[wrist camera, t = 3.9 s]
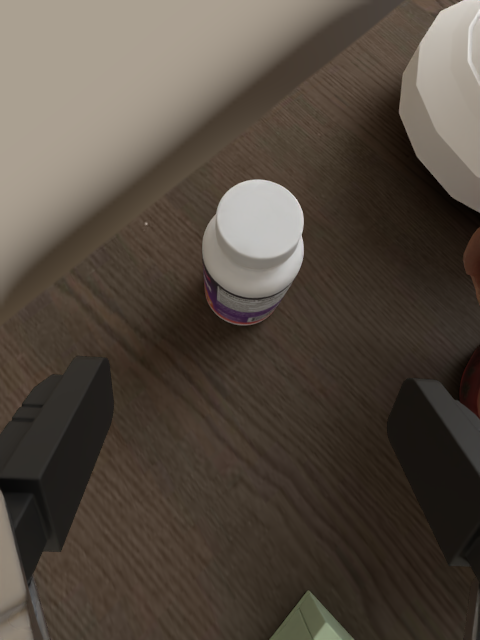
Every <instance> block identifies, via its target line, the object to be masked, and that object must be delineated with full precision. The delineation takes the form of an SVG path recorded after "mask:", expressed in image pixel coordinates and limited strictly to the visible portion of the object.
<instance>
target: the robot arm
mask: <svg viewBox="0 0 480 640" xmlns="http://www.w3.org/2000/svg"><path fill="white" fill-rule="evenodd" d="M113 410H114V400H113V391H112V382H111V373H110V364H109V360H108V359H107V358H102V357H87V356H76V357H75V358H74V359H73V360H72V362H71V363H70V365H69V367H68V368H67V370H66V371H65V373H64V374H63V375H55V374H52V375H51V376H49V377H48V378H47V379H45V380H44V381H42V382H41V383H40V384H38V385H37V386H35V387H34V388H33V390H32V391H31V392H30V394H29V395H28V396H27V398H26V399H25V401H24V402H23V403H22V407H20V408H19V409H18V410H17V412H16V413H15V414H14V416H13V417H12V421H9V423H8V424H7V425H6V427H5V428H4V430H3V431H2V432H1V434H0V640H51V638H50V635H49V631H48V627H47V623H46V619H45V616H44V612H43V608H42V604H41V601H40V597H39V593H38V589H37V585H36V582H35V578H34V574H33V573H34V570H35V568H36V566H37V563H38V561H39V559H40V556H41V554H42V552H43V551H49V552H61V550H62V547H63V545H64V542H65V540H66V537H67V535H68V532H69V529H70V527H71V524H72V522H73V519H74V517H75V514H76V512H77V509H78V506H79V504H80V501H81V499H82V496H83V494H84V491H85V489H86V486H87V484H88V481H89V478H90V476H91V473H92V471H93V468H94V466H95V463H96V461H97V458H98V455H99V453H100V450H101V448H102V445H103V443H104V440H105V438H106V435H107V433H108V430H109V427H110V425H111V421H112V417H113ZM387 433H388V438H389V441H390V443H391V445H392V447H393V449H394V452H395V454H396V456H397V458H398V460H399V462H400V464H401V466H402V468H403V470H404V472H405V475H406V477H407V479H408V481H409V483H410V485H411V487H412V489H413V491H414V493H415V496H416V498H417V500H418V502H419V504H420V506H421V508H422V510H423V512H424V514H425V516H426V519H427V521H428V523H429V525H430V527H431V529H432V531H433V533H434V535H435V537H436V540H437V542H438V544H439V546H440V548H441V550H442V552H443V554H444V556H445V558H446V561H447V563H448V565H449V566H471V568H472V570H473V572H474V573H475V575H476V577H475V578H474V580H473V581H472V583H471V587H470V594H469V601H468V609H467V616H466V623H465V631H464V638H463V640H480V419H479V418H478V417H477V416H476V414H474V413H473V412H472V411H471V410H469V409H468V408H467V407H465V406H464V405H463V404H462V403H460V402H459V401H458V400H454V399H453V398H452V396H451V395H450V394H449V392H448V391H447V390H446V389H445V387H444V386H443V385H442V384H441V382H439V381H438V380H432V379H417V378H407V379H406V380H405V381H404V382H403V384H402V386H401V389H400V391H399V393H398V396H397V398H396V401H395V403H394V405H393V408H392V410H391V413H390V415H389V418H388V422H387Z"/></svg>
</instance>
